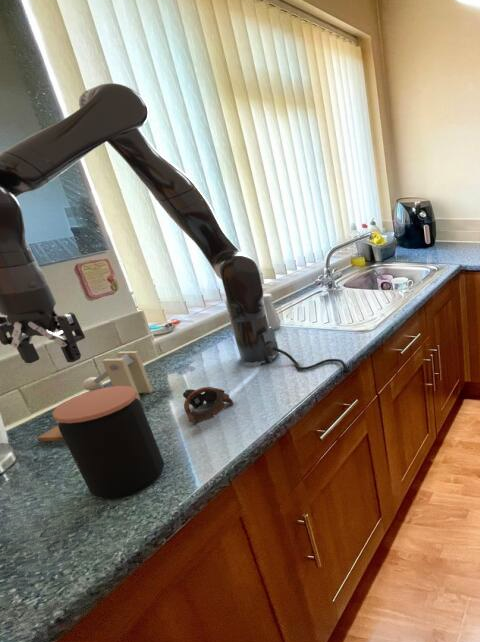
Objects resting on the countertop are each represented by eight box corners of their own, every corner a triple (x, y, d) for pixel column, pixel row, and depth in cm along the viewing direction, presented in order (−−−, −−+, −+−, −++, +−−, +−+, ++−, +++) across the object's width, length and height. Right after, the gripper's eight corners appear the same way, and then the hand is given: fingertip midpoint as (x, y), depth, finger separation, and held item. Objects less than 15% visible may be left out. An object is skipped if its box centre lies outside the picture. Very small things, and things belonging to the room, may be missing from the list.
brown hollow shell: (246, 404, 102) (233, 389, 96) (218, 438, 96) (203, 424, 90) (205, 389, 103) (189, 372, 97) (175, 421, 98) (156, 406, 91)
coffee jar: (123, 462, 82) (89, 386, 75) (179, 460, 83) (150, 384, 76) (75, 504, 72) (31, 420, 66) (139, 500, 73) (102, 417, 66)
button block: (129, 419, 96) (123, 405, 94) (94, 444, 87) (87, 429, 86) (80, 420, 95) (73, 406, 94) (41, 446, 87) (33, 430, 85)
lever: (87, 395, 100) (75, 385, 99) (99, 388, 103) (88, 378, 102) (127, 367, 98) (115, 357, 97) (138, 361, 101) (126, 351, 100)
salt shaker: (273, 332, 144) (265, 297, 140) (259, 330, 145) (251, 296, 141) (285, 326, 150) (278, 292, 145) (271, 324, 151) (264, 291, 146)
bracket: (103, 409, 99) (83, 363, 95) (130, 392, 107) (113, 349, 102) (146, 408, 100) (128, 362, 95) (169, 391, 107) (154, 348, 103)
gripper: (75, 281, 82) (105, 352, 88) (2, 281, 82) (36, 353, 88) (37, 292, 75) (72, 369, 81) (-44, 293, 75) (-3, 370, 81)
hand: (53, 361), depth 85 cm, fingers open, 8 cm apart
